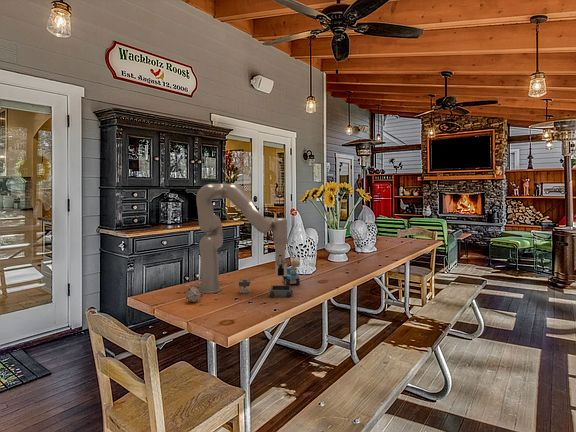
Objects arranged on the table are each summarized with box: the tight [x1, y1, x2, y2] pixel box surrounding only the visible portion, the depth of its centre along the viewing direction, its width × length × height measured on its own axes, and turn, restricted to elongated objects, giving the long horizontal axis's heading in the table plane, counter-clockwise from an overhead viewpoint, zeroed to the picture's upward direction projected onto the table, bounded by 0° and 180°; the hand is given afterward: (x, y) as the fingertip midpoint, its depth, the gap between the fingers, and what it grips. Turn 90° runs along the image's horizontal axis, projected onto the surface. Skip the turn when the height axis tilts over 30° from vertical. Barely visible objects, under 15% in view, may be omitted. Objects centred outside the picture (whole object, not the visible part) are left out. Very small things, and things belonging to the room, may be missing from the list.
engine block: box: [274, 262, 288, 277], centre depth 203 cm, size 6×5×6 cm
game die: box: [183, 285, 203, 304], centre depth 191 cm, size 9×8×10 cm
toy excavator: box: [281, 257, 301, 285], centre depth 222 cm, size 9×17×17 cm, turn 15°
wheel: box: [238, 279, 251, 287], centre depth 207 cm, size 6×6×2 cm
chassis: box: [267, 284, 294, 298], centre depth 205 cm, size 13×13×3 cm
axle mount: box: [240, 286, 250, 295], centre depth 207 cm, size 5×5×4 cm
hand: (281, 273), depth 204 cm, fingers closed on engine block, 5 cm apart
